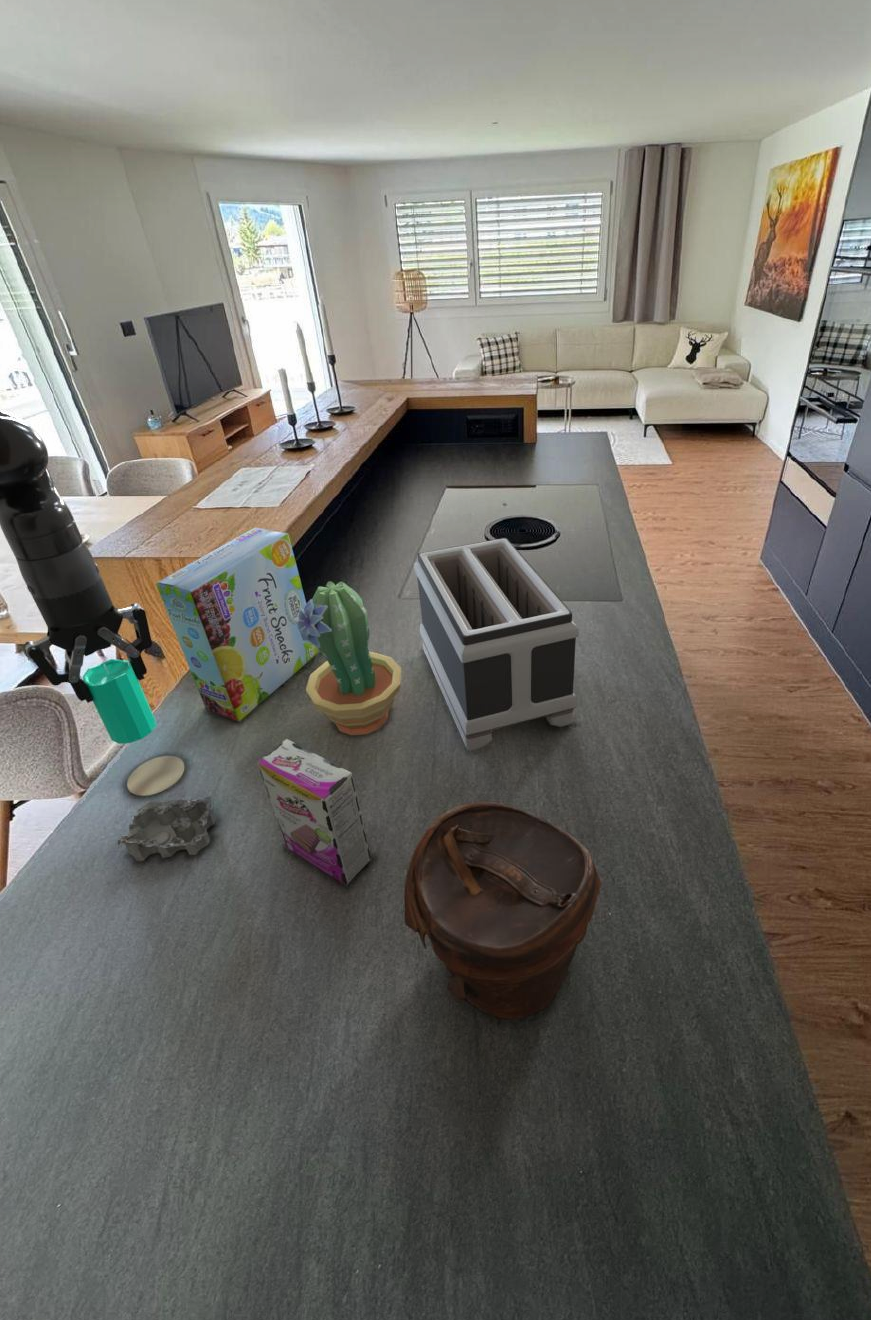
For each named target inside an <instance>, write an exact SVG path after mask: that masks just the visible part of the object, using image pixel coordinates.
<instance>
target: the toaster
mask: <svg viewBox="0 0 871 1320" xmlns="http://www.w3.org/2000/svg"><path fill="white" fill-rule="evenodd" d="M413 566H414V572H415V574H416V578H417V579H416V580H417V587H418V588H417V589H418V595H419V597H418V598H419V605H420V613H421V622H420V623H419V624H420V625H419V632H420V636H421V640H422V648H423V652H424V654H425V657H426V659H427V661H428V664H429V666H430V668H431V670H432V672H433V675H434V678H435V680H436V682H437V684H438V687H439V689H440V691H441V694H442V697H443V698H444V700H445V703H446V705H447V707H448V709H449V712H450V714H451V716H452V718H453V721H454V723H455V725H456V728H457V730H458V733H459V735H460V736H461V737H460V738H461V740H462V741H463V744H464V746H465V749H466V750H468V751H474V750H479V749H483V748H485V746H486V745H488V744H489V743H490V742H492V740H493V734H492V732H493V730H497V729H502V728H506V727H510V726H513V725H518V724H521V723H525V722H529V721H533V720H537V719H540V718H545V719H546V720H547V722H548V723H549V725H550V726H554V727H555V726H556V727H558V728H561V727H566V726H569V725H571V724H573V722H574V714H575V713H574V712H575V709H576V708H577V707H578V700H577V697H576V695H575V693H574V685H575V681H574V680H575V659H576V643H577V642H576V641H577V638H578V637H579V627H578V626H577V625H576V623H575V622H574V621H573V612H572V611H571V610H570V608H569V607H568V606H567V605H566V604H565V602H563V600H561V598H560V597H559V596H558V595H557V594H556V593H555V591H554V590H553V589H552V588H551V587H550V586H549V584H548V583H547V582H546V581H545V580H544V578H542V577H541V575H540V574H539V573H538V572H537V571H536V569H534V568H533V566H532V565H531V564H530V563H529V562H528V560H527V559H526V558H525V557H524V556H523V555H522V554H521V553H520V551H519V550H518V549H517V548H516V546H514V545H513V543H512V542H511V541H510V539H508V538H507V537H501V538H496V539H495V538H494V539H490V540H484V541H479V542H474V543H473V542H472V543H468V544H462V545H456V546H452V547H445V548H439V549H433V550H427V551H423V552H418V553H417V561H415V562H414V564H413Z"/></svg>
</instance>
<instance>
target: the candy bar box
mask: <svg viewBox="0 0 871 1320" xmlns="http://www.w3.org/2000/svg"><path fill="white" fill-rule="evenodd" d="M257 766H258V769H259V772H260V776H261V777H262V781H263V783H264V787H265V789H266V792H267V795H268V798H269V801H270V803H271V806H272V809H273V811H274V816H275V819H276V821H277V823H278V827H279V830H280V833H281V835H282V838H283V841H284V843H285V847H286V849H287V850H289V851H290V852H291V853H294V854H295V855H297V856H298V857H300V858H301V859H303V860H305V861H307V863H310V864H311V865H312V866H314V867H315V868H318V869H319V870H321V871H322V872H324V873H325V874H327V875H329V876H330V877H331V878H333V879H335V880H337V881H338V882H339V883H341V884H343V885H344V886H348V885H350V883H351V882H352V881H353V880H354V879H355V878H356V876H358V874H359V873H360V872H361V871H362V870H363V869H364V868H365V867H366V866H367V864H368V863H369V862H370V861H371V860H372V858H371V857H372V856H371V854H370V849H369V844H368V840H367V836H366V831H365V827H364V822H363V819H362V812H361V808H360V804H359V801H358V796H357V791H356V787H355V783H354V779H353V773H352V772H351V771H349V770H347V769H346V768H343V767H342V766H339V765H337V764H335V763H334V762H332V761H330V760H328V759H326V758H324V757H323V756H321V755H319V754H317V753H315V752H313V751H311V750H309V749H308V748H306V747H303V746H301V745H299V744H298V743H296V742H294V741H292V740H290V739H288V738H286V739H284V740H283V741H282V742H281V743H280V744H278V745H277V746H276V747H275V748H273V749H272V750H271V751H269V752H268V754H265V755H264V756H263V757H262V758H260V760H258V761H257Z"/></svg>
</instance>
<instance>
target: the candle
mask: <svg viewBox="0 0 871 1320" xmlns="http://www.w3.org/2000/svg"><path fill="white" fill-rule="evenodd" d="M82 679H83V681H84V683H85V685H86V687H87V689H88V691H89V693H90V695H91V697H92V699H93V701H92V703H93V705H94V707H95V709H96V711H97V714H98V715H99V718H100V719H101V721H102V724H103V725H104V727H105V729H106V732H107V734H108V735H109V738H110V740H111V741H112V742H114V743H115V744H118V745H122V744H123V745H124V744H132V743H135V742H138V741H141V740H143V739H144V738H146V737H147V736H149V735H150V734H151V733H152V732H153V731H154V729H155V727H156V726H157V722H156V718H155V716H154V714H153V712H152V710H151V707H150V704H149V702H148V700H147V697H146V695H145V693H144V689H143V688H142V685H141V683H140V681H139V680H138V678H137V676H136V674H135V672H134V669H133V667H132V665H131V662H130V661H129V660H125V659H124V660H123V659H118V658H117V659H115V658H111V659H108V660H107V661H102V663H99V664H97V665H94V666H92V667H88V669H87V670H86V671H85V672H84V673H83V675H82Z"/></svg>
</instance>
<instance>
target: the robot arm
mask: <svg viewBox="0 0 871 1320" xmlns="http://www.w3.org/2000/svg"><path fill="white" fill-rule="evenodd" d="M48 465H49V453H48V448H47V446H46V444H45V441H44V440H43V439H42V437H41V436H40V435H39V433H37V432H36V431H35V430H34V428H32V427H31V425H29V424H28V423H27V422H25V420H23V419H22V418H20V417H19V416H17V415H15V414H13V413H11V412H8V411H6V410H1V409H0V529H1V531H2V534H3V536H4V538H5V540H6V542H7V544H8V546H9V548H10V549H11V551H12V554H13V556H14V557H15V560H16V562H17V566H18V569H19V572H20V575H21V577H22V579H23V581H24V583H25V585H26V588H27V591H28V592H29V593H30V595H31V597H32V599H33V601H34V603H35V605H36V607H37V609H38V611H39V613H40V615H41V617H42V619H43V621H44V623H45V625H46V627H47V633H46V636H44V637H42V638H40V639H38V640H36V641H34V640H28V641H26V642H25V643H24V645H23V647H24V649H25V651H26V653H27V655H28V656H29V658H30V659H31V660H32V661H33V663H34V664H35V665H36V666H37V667H38V669H39V670H40V671H41V673H42V674H43V675H44V676H45V678H46V679H47V680H48V682H49V683H50V684H51V685H52V686H59V685H61V684H63V683H68V684H70V686H71V688H72V690H73V692H74V694H75V695H76V697H77V699H78V700H79V701H81V702H84V701H86V703H87V704H89V703H92V702H93V699H92V697H91V695H90V693H89V691H88V689H87V687H86V685H85V683H84V681H83V676H81V671H82V667H83V666H84V665H83V664H84V659H85V658H84V657H88V656H90V655H93V654H94V653H96V652H97V651H100V650H101V651H102V650H105V649H106V650H107V649H108V648H111V647H112V645H113V646H114V647H115V648H117V649H118V650H120V651H122V652H124V653H125V656H126V658H127V661H130V662H131V665H132V667H133V669H134V672H135V674H136V676H137V678H138V681H139V682H140V681H142V680H144V679H145V675H146V674H148V673H147V671H148V670H147V667H146V665H145V662H144V660H143V657H142V653H143V652H144V651H145V650H147V649H151V647H152V646H153V642H152V636H151V632H150V628H149V622H148V617H147V613H146V611H145V609H144V608H143V607H142V606H141V605H140V604H139V603H137V602H133V603H132V604H130V605H129V607H126V608H122V609H118V608H117V607H115V605H114V604H113V600H112V599H111V596H110V593H109V591H108V590H107V587H106V585H105V582H104V580H103V578H102V575H101V572H100V568H99V566H98V564H97V563H96V561H95V558H94V556H93V555H92V552H91V551H90V549H89V548H88V546H87V545H86V543H85V541H84V539H83V537H82V534H81V532H80V530H79V527H78V525H77V523H76V521H75V518H74V516H73V514H72V511H71V510H70V508H69V507H68V504H67V502H65V500H64V499H63V497H62V496H61V495H60V493H59V491H58V490H57V488H56V486H55V483H54V481H53V478H52V475H51V473H50V471H49V468H48ZM124 619H125V620H127V622H128V623H129V624H131V625H133V628H134V633H135V637H136V639H135V640H133V641H132V642H131V641H130V640H129V639H127V638H126V637H125V636H124V635H123V634H121V633H120V628H121V625H122V624H123V620H124ZM51 646H55V647H57V648H60V649H62V650H64V667H63V668H61V669H56V667H55V666H54V665H53V664H52V662H51V661H50V659H49V658H48V657H49V656H50V655H51V650H50V648H51Z"/></svg>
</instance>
